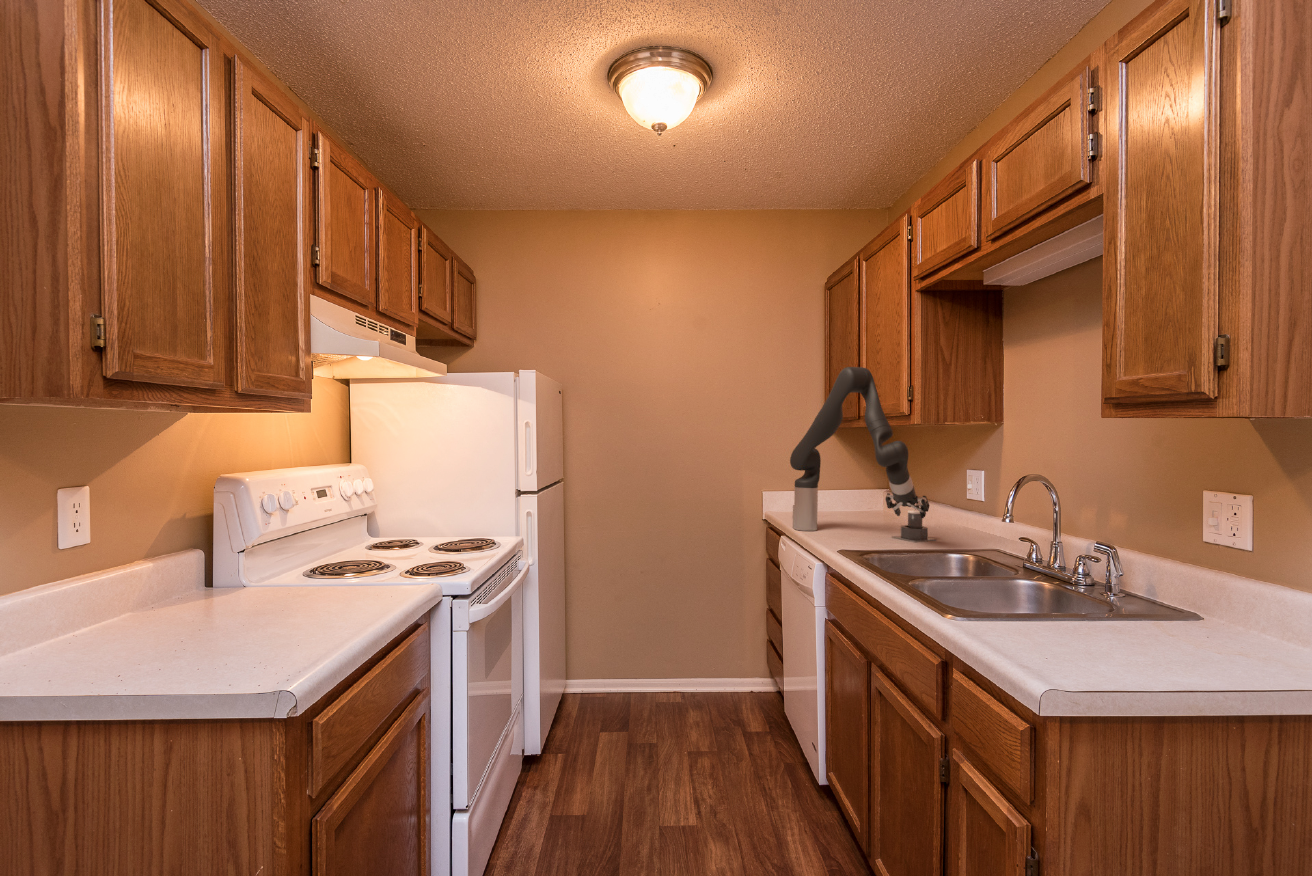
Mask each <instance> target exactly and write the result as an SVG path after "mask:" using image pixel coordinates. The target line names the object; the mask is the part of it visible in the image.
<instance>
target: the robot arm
mask: <svg viewBox="0 0 1312 876" xmlns="http://www.w3.org/2000/svg"><path fill="white" fill-rule="evenodd" d="M851 393H855V394H856V393H859V394H860V395H861V396H862V398H863V400H864V401H865V411H864V422H865V423H864V424H865V426H866V428H867V429H868V432H869V434H870V436H871V439H872V442H873V446H874V454H875V456H874V457H875V460H876V463H877V464H878V465H879V466H881V467H883V468H885V472H886V475H887V479H888V485H889V488H890V491H891V493H890V492H889V493H888V492H887V493H886V495H885V498H884V499H885V503H886V507H887V509H892V510H893V511H894V514H895V515H896V516H897V517H900V516H901V508H900V507H901V506H902V507H908V508H912V509H914V510H918V511H920V515H921V518H922V519H925V517H926V515H927V513H926V512H929V509H930V502H929V501H928V498H927V496H926V495H922V496H921V497H919V496H917V493H916V490H915V486H914V483H913V479H912V477H911V474H910V472H909V470H908V463H909V462H908V461H909V449H908V446H907V444H906V443H905V442H903V441H901V440H895V441H892V442H889V443H887V444H884V443H886V442H887V441H888V440H890V439H891V438H892V437H893V434H894V432H893V429H892V427H891V425H890V423H889V421H888V419H887V417H886V415H885V413H884V410H883V407H882V404H881V400H880V396H879V393H878V390H877V386H876V383H875V380H874V376H873V374H872V373H871V371H870V370H869V369H868V368H867V367H863V366H861V367H860V366H847V367H844V368H843V369H841V371H840V372H839V374H838V375H837V377H836V379H835V382H834V384H833V386H832V388H831V390H830V392H829V395H828V396H827V398H826V400H825V401H824V403H823V404H822V407H821V408H820V409H819V411H818V413H817V415H816V416H815V418H814V420H813V421H812V423H811V425H810V426H809V428H808V430H807V431H806V433H805V434H804V436H803V437H802V438H801V440H800V441H799V443H798V444H796V446H795V447H794V449H793V450H792V452H791V455H790V458H789V463H790V466H791V468H792V469H793V470H795V471H801V472H802V471H803V472H804V473H803V474H802V476H800V477H799V478H797V479H794V492H793V493H794V498H793V499H794V500H793V501H794V502H793V503H794V504H793V505H792V529H794V530H797V531H805V532H811V531H812V532H813V531H818V510H819V509H818V505H819V503H818V501H819V500H818V498H819V495H818V491H819V489H818V488H819V482H820V477H821V476H820V475H821V460H822V459H821V453H820V451H819V450H818V448H817V447H818V446H820V445H821V444H823V443H825V441H827V440H829V439H830V438H831V437H833V436H834V434H835V433H836V431H837V430H838V428H840V426H841V424H842V422H843V419H844V414H843V412H844V411H843V404H844V401H845V400H846V399H847V397H848V395H850V394H851ZM893 501H894V503H893Z"/></svg>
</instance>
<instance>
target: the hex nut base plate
mask: <svg viewBox="0 0 1312 876" xmlns="http://www.w3.org/2000/svg"><path fill="white" fill-rule="evenodd" d="M928 535H929V534H928V526H923V525H922V528H908V524H906V525H905V524H904V525H900V535H894V536H893V535H891V538H892V539H897V540H902V541H907V542H913V543H923V542H925V543H926V542H937V540H938V539H937V538H933V537H928Z"/></svg>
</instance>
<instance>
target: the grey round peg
mask: <svg viewBox="0 0 1312 876" xmlns="http://www.w3.org/2000/svg"><path fill="white" fill-rule="evenodd" d="M907 525H908V528H922V526H923V518H921V515H920V511H918V510H917V509H916V510H915V509H914V510H913V509H908V510H907Z"/></svg>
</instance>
